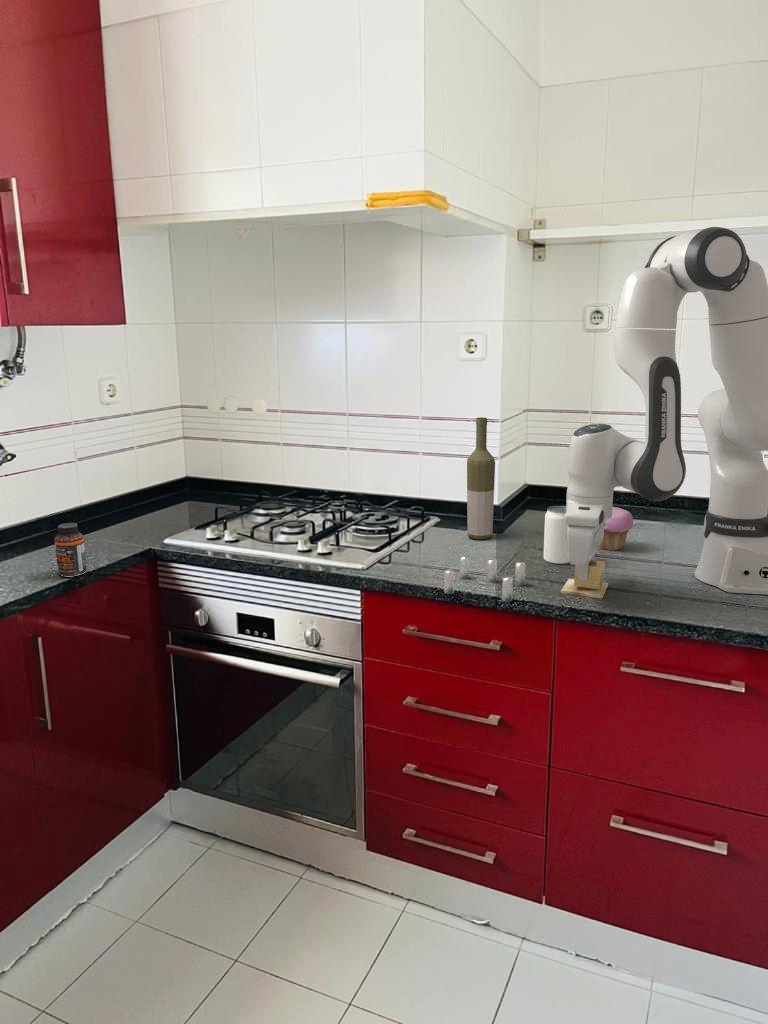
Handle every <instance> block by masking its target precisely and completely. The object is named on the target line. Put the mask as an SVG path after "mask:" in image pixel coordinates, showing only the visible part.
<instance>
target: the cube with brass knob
mask: <svg viewBox="0 0 768 1024" xmlns="http://www.w3.org/2000/svg"><path fill="white" fill-rule="evenodd" d="M605 563H606V562H605V561H601V560H595V559H594V560H591V561H590V562H589V564H588V570H589V573H588V578H587V580H579V579H578V568H577V565H574V566H575V567H574V578H573V579H574V586H577V587H585V588H592V589H600V588H601V586H602V584H603V582H604V579H605V578H604V577H605V565H606V564H605Z"/></svg>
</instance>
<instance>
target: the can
mask: <svg viewBox="0 0 768 1024" xmlns="http://www.w3.org/2000/svg"><path fill="white" fill-rule="evenodd" d="M546 509H547V511H546V513H545V515H544V528H543V529H544V532H543V533H544V535H543V537H544V538H543V560H544V561H545V562H547V563H548V564H552V565H567V564H570V562H569V558H568V539H567V530H568V525H567V524H565V513H566V505H565V506H564V505H554V506H553V505H552V506H548V507H547V508H546Z"/></svg>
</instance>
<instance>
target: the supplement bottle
mask: <svg viewBox="0 0 768 1024" xmlns="http://www.w3.org/2000/svg"><path fill="white" fill-rule="evenodd" d="M57 532H58V533H57V535H55V537H54V547H55V548H54V549H55V558H56V565H57V566H56V567H57V573H58V576H59V575H63V576H74V575H78V574H82V573H84V572H85V571H86V570H87V559H86V550H85V548H86V547H85V540H84V535H83V534H82V532H80V530H79V528H78V524H77V523H75V522H67V523H66V522H65V523H61V524H59V525H58V526H57Z"/></svg>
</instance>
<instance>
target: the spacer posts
mask: <svg viewBox="0 0 768 1024" xmlns="http://www.w3.org/2000/svg"><path fill="white" fill-rule="evenodd" d="M486 562H487V563H486V582H488V583H496V582H497V579H498V577H497V576H498V574H497V573H498V570H497V569H498V559H495V558H489V559H488V558H487V561H486ZM514 569H515V571H514V577H512V576H509V575H508V576H503V577H502V584H501V585H502V589H501V590H502V591H501V593H502V594H501V601H503V602H505V603H506V602H507V603H508V602H509V603H510V602H512V601H513V595H514V594H513V593H514V591H513V590H514V589H513V588H514V585H515V586H520V587H521V586H525V583H526V562H523V561H516V562H515V568H514ZM459 579H462V580H466V579H470V556H469V555H461V556H459ZM443 593H444V594H447V595H453V594H454V593H455V570H453V569H445V570H444V571H443Z"/></svg>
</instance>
